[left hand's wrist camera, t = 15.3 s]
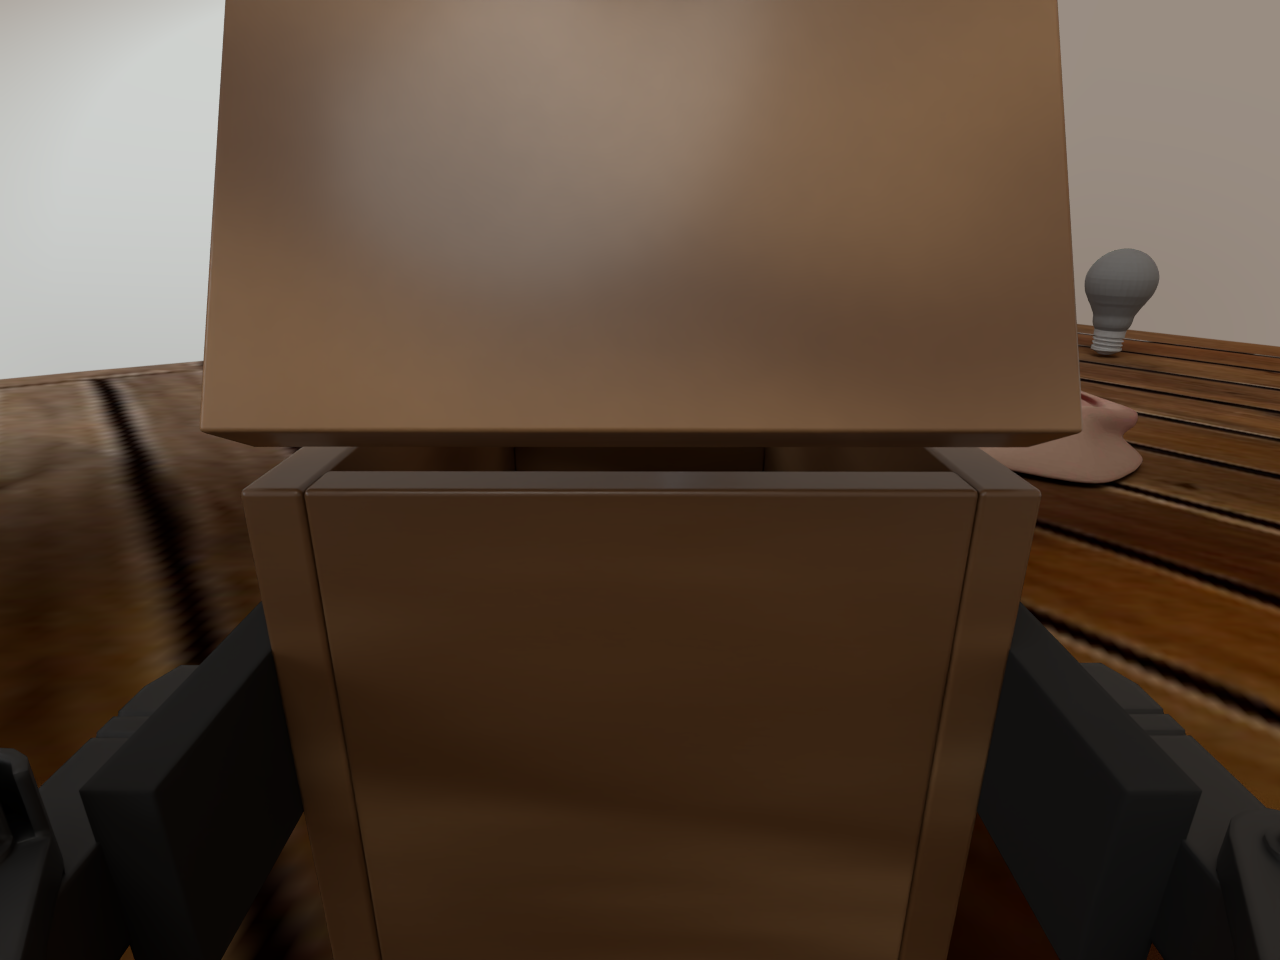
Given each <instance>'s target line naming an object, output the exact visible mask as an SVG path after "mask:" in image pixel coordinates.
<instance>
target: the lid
mask: <svg viewBox="0 0 1280 960" xmlns="http://www.w3.org/2000/svg"><path fill="white" fill-rule="evenodd" d="M1082 429H1083V421H1082V405H1081V388H1080V371H1079V354H1078V338H1077V321H1076V304H1075V288H1074V271H1073V254H1072V238H1071V221H1070V204H1069V187H1068V170H1067V154H1066V137H1065V120H1064V103H1063V87H1062V70H1061V53H1060V36H1059V20H1058V3H1057V0H226V1H225V18H224V35H223V51H222V67H221V84H220V100H219V116H218V133H217V150H216V166H215V183H214V199H213V215H212V232H211V248H210V265H209V281H208V298H207V314H206V330H205V347H204V363H203V380H202V396H201V413H200V430H201V431H202V432H204V433H207V434H211V435H214V436H218V437H222V438H225V439H229V440H232V441H236V442H240V443H243V444H247V445H250V446H254V447H1031V446H1035V445H1038V444H1042V443H1046V442H1049V441H1053V440H1057V439H1060V438H1064V437H1068V436H1071V435H1075V434H1078V433H1080V432H1082Z"/></svg>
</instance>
